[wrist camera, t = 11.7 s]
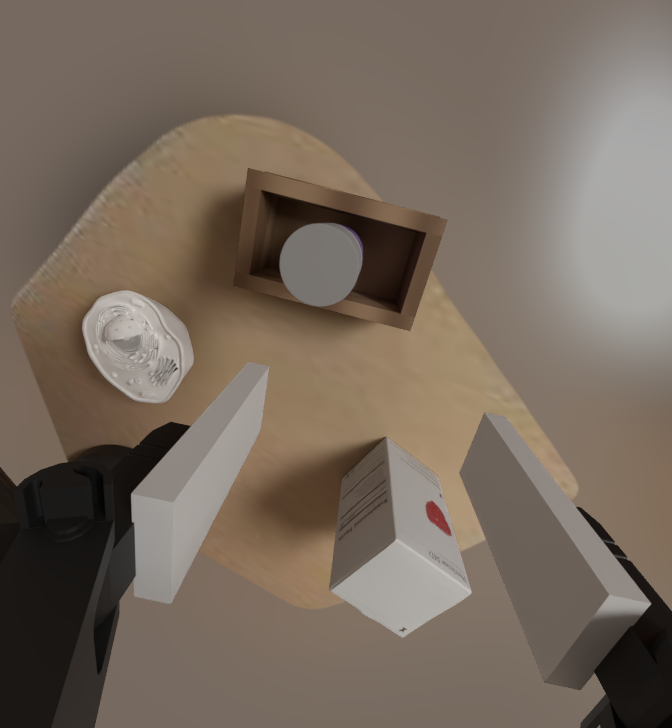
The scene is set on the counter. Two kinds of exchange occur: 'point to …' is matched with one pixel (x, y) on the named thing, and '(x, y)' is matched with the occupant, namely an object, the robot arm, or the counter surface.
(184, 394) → the counter surface
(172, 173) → the counter surface
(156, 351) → the cell model
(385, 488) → the supplement box
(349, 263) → the container
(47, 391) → the counter surface
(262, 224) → the open wooden box
